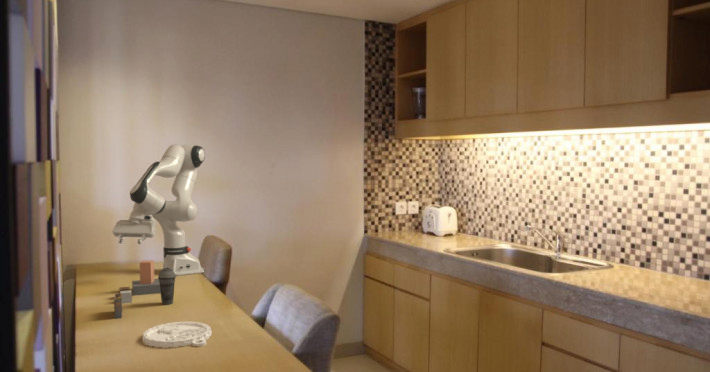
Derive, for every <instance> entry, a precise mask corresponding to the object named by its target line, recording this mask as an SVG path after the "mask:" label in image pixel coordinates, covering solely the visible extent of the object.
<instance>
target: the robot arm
mask: <svg viewBox="0 0 710 372" xmlns="http://www.w3.org/2000/svg"><path fill="white" fill-rule="evenodd" d="M205 158H206V152H205V149H204V148H203V146H200V145H192V144H186V145H185V144H184V145H183V144H182V145H178V144H171V145H169V146H168V147H167V149H166V150H165V152H164V153H163V155H162V156H161V159H160V160H159V161H154V162H153V163H152V164H151V165H150V166H149V167H148V168H147V169H146V171H145V172H144V173H143V175H142V176H141V178H139V180H138V181H137V182H136V184H135V185H134V186H133V187H132V188H131V189H130V190H129V191H130V192H129V197H130V200H131V201H132V202H134V204H133V206H132V211H131V213H130V214H129V218H128V219H120V220H118V221H116V224H115V226H114V227H113V229H112V234H113V235H114V237H117V238H118V239H119V240H118V244H123V243H124V240H123V238H140V239H138V240H137V244H138V245H142V244H143V242H144V241H145V240H146V238H150V239H151V238H154V237H155V235H156V231H157V229H156V226H157V223H158V224H159V225H160V227H161V229H162V232H163V243H164V245H163V249H162V253H163V254H162V255H163V258H165V264H166V268H171V269H172V270H173V271H174V272H175V276H177V277H178V276H184V275H185V276H186V275H194V274H201V273H204V272H205V271H204V269H205V268H204V267H203V266H201V262H200V259H199V258H198V257H197V256H195V255H194V254H192V253H191V251H192V248H191V247H190V246H187V245H186V231H185V230H184V229H183V228H181V227H180V226H179V224H178V222H183V223H184V222H190V221H191V222H192V221H193V220H195V219H196V217H197V216H198V208H197V205H196V204H195V203H194V201H193V200H192V197H193V196H192V195H193V191H194V188H195V185H196V182H197V177H198V168H199V167H201V165H202V164H203V162H204V161H205ZM155 176H156V177H157V176H159V177H162V178H165V179H166V178H167V179H169V178H174V177H175V178H174V181H173V182H172V183H173V184H172V187H171V189H170V190H171V193H172V195H173V197H175V198H176V199H175V200H166V198H165V197H163V196H162V195H161V194H160V193H158V192H156V191H155V190H154V189H152V188H151V187H150V185H149V184H150V183H151V181H152V180H153V178H155ZM150 215H151V216H150ZM156 222H157V223H156ZM202 267H203V268H204V269H203V268H202ZM164 268H165V266H164V263H163V266H162V269H164Z"/></svg>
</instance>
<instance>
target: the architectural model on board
mask: <svg viewBox="0 0 710 372" xmlns="http://www.w3.org/2000/svg"><path fill="white" fill-rule="evenodd" d="M113 303H114V304H113V305H114V306H113V309H114V310H113V311H114V320H117V319H122V317H123V315H122V314H123V303H122V293H121V294H119V293H114V299H113Z"/></svg>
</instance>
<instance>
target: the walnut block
mask: <svg viewBox="0 0 710 372" xmlns="http://www.w3.org/2000/svg"><path fill="white" fill-rule="evenodd" d="M128 290H131V286H123V287H121V286H120V287H118V294H120V291H128Z"/></svg>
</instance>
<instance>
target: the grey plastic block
mask: <svg viewBox="0 0 710 372" xmlns="http://www.w3.org/2000/svg"><path fill="white" fill-rule="evenodd" d="M121 293H122V304H130V303H131V304H132V303H133V290H131V289H130V290H128V291H120V294H121Z"/></svg>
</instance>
